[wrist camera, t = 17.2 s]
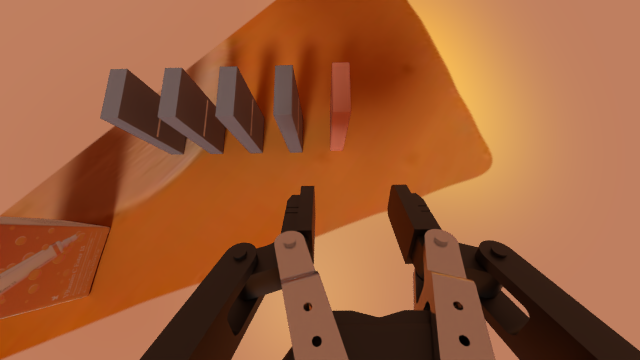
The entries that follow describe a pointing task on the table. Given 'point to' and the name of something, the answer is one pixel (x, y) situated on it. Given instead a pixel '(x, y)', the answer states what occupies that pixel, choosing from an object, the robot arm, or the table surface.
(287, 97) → the domino
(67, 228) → the small box
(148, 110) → the domino
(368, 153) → the table surface
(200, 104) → the domino
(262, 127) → the domino
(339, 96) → the domino
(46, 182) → the table surface
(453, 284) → the robot arm
